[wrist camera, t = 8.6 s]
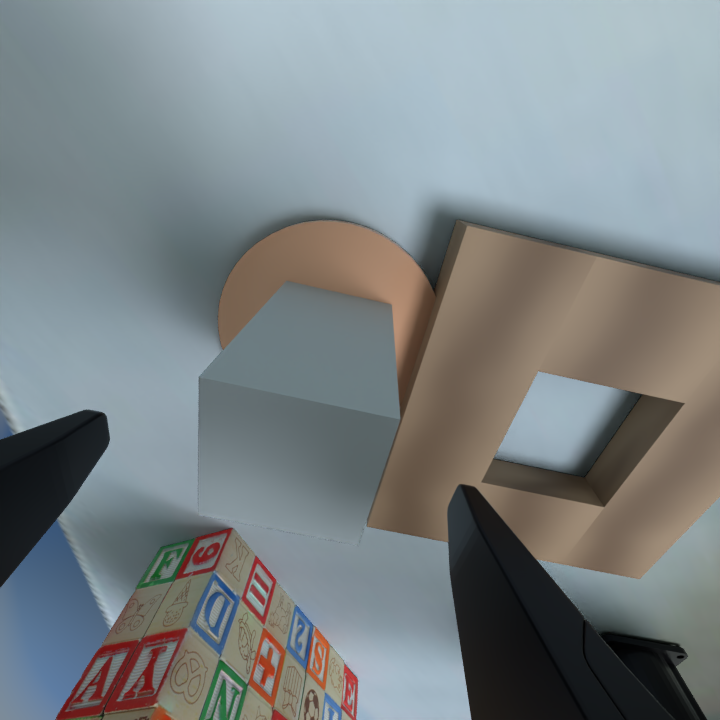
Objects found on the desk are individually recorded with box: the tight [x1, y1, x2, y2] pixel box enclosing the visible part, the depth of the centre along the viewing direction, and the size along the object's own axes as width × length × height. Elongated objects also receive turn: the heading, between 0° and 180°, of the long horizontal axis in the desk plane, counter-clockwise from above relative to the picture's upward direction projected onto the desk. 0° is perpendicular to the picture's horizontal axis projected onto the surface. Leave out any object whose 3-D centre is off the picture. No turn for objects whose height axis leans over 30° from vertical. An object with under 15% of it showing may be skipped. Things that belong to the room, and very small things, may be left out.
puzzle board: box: [367, 220, 720, 579], centre depth 17 cm, size 16×16×2 cm
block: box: [198, 281, 400, 546], centre depth 12 cm, size 4×4×8 cm
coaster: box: [218, 220, 436, 407], centre depth 16 cm, size 10×10×1 cm
